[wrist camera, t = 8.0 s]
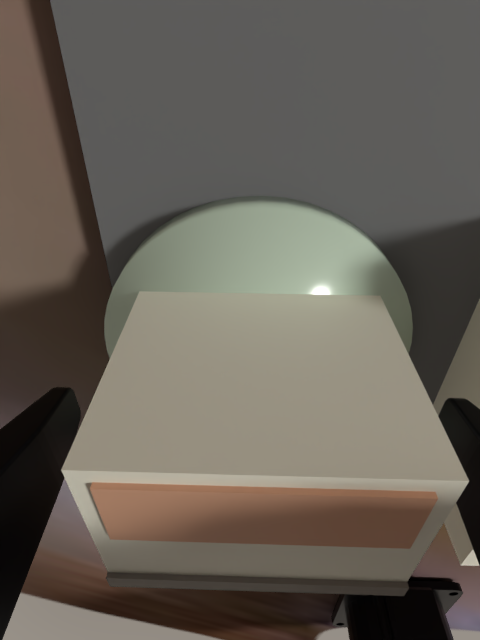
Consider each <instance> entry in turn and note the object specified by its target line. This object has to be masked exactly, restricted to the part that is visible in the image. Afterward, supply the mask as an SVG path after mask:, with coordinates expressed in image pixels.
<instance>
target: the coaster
mask: <svg viewBox="0 0 480 640" xmlns="http://www.w3.org/2000/svg"><path fill="white" fill-rule="evenodd" d="M139 291H149V292H205V293H261V294H318V295H374V296H381V298H382V300H383V302H384V304H385V306H386V308H387V310H388V313H389V315H390V317H391V319H392V321H393V323H394V325H395V327H396V329H397V331H398V333H399V336H400V338H401V340H402V342H403V344H404V346H405V348H406V350H407V352H408V354H409V351H410V347H411V343H412V332H413V323H412V312H411V307H410V304H409V300H408V296H407V293H406V291H405V289H404V287H403V285H402V283H401V281H400V279H399V277H398V275H397V273H396V272H395V270H394V268H393V267H392V265H391V263H390V261H389V260H388V259H387V257H386V256H385V254H384V253H383V252H382V250H381V249H380V247H379V246H378V245H377V244H376V243H375V242H374V241H373V240H372V239H371V238H370V237H369V236H368V235H367V234H366V233H365V232H364V231H362V230H361V229H360V228H358V227H357V226H355V225H354V224H353V223H351V222H350V221H349V220H347V219H345V218H343V217H341V216H339V215H338V214H336V213H334V212H332V211H330V210H328V209H325V208H322V207H319V206H317V205H314V204H311V203H308V202H304V201H299V200H295V199H290V198H286V197H274V196H242V197H234V198H228V199H223V200H217V201H213V202H210V203H207V204H204V205H201V206H198V207H194V208H192V209H190V210H188V211H186V212H184V213H182V214H180V215H178V216H175V217H174V218H172V219H171V220H169V221H168V222H166V223H165V224H163V225H162V226H160V227H159V228H157V229H156V230H155V231H154V232H153V233H152V234H150V235H149V236H148V237H147V238H146V239H145V240H144V241H143V242H142V243H141V244H140V245H139V247H138V248H137V249H136V250H135V251H134V253H133V254H132V255H131V257H130V258H129V260H128V262H127V263H126V265H125V267H124V269H123V270H122V272H121V274H120V276H119V278H118V280H117V281H116V283H115V285H114V287H113V289H112V292H111V295H110V298H109V300H108V303H107V308H106V314H105V320H104V336H105V342H106V348H107V352H108V355H109V358H110V357H111V355H112V353H113V351H114V348H115V346H116V344H117V342H118V339H119V337H120V335H121V332H122V330H123V328H124V326H125V323H126V321H127V319H128V316H129V314H130V312H131V310H132V307H133V305H134V303H135V300H136V298H137V296H138V294H139Z"/></svg>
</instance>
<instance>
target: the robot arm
mask: <svg viewBox="0 0 480 640" xmlns="http://www.w3.org/2000/svg"><path fill="white" fill-rule="evenodd" d="M80 416H81V413H80V408H79V405H78V402H77V399H76V396H75V393H74V391H73V390H72V389H71V388H66V387H56V388H53V389H51V390H50V391H49V392H47V393H46V394H45V395H43V396H42V397H41V398H40V399H38V400H37V401H36V402H35V403H33V404H32V405H31V406H29V407H28V408H27V409H26V410H24V411H23V412H22V413H20V414H19V415H18V416H17V417H15V418H14V419H13V420H12V421H10V422H9V423H8V424H6V425H5V426H4V427H3V428H1V429H0V640H2V639H3V636H4V634H5V631H6V628H7V626H8V623H9V621H10V618H11V616H12V613H13V610H14V608H15V605H16V602H17V600H18V597H19V595H20V592H21V590H22V587H23V584H24V582H25V579H26V577H27V574H28V571H29V569H30V566H31V564H32V561H33V559H34V556H35V553H36V551H37V548H38V546H39V543H40V540H41V538H42V535H43V533H44V530H45V527H46V525H47V522H48V520H49V517H50V515H51V512H52V509H53V507H54V504H55V502H56V499H57V496H58V494H59V491H60V489H61V486H62V483H63V480H64V475H63V473H62V471H61V469H62V467H63V465H64V462H65V460H66V458H67V456H68V453H69V451H70V449H71V446H72V444H73V442H74V440H75V437H76V433H77V429H78V425H79V422H80ZM438 417H439V419H440V421H441V423H442V425H443V427H444V429H445V432H446V434H447V436H448V438H449V440H450V442H451V444H452V446H453V448H454V450H455V452H456V454H457V457H458V459H459V461H460V463H461V465H462V467H463V469H464V471H465V473H466V475H467V477H468V480H469V482H468V484H467V486H466V487H465V489H464V491H463V492H462V494H461V495H460V497H459V499H458V500H457V502H456V504H457V507H458V509H459V512H460V515H461V517H462V520H463V523H464V525H465V528H466V531H467V534H468V536H469V539H470V542H471V544H472V547H473V550H474V552H475V555H476V558H477V560H478V563H479V566H480V409H479V408H478V407H477V406H475V405H474V404H473V403H471V402H470V401H469V400H467V399H465V398H448V399H447V400H446V401H445V402H444V404H443V407H442V409H441V411H440V413H439V415H438ZM407 583H408V586H409V589H408V591H407V592H406V594H405V595H404V596H384V595H354V594H341V595H340V597H339V600H338V602H337V605H336V607H335V609H334V612H333V614H332V623H333V626H336V627H348V632H349V639H350V640H453V636H452V634H451V630H450V627H449V624H448V621H447V618H446V615H445V614H446V613H447V611H448V610H449V609H450V608H451V607H452V606H453V605H454V603H455V602H456V601H457V600H458V599H459V598H460V597H461V595H462V594H463V592H462V589H461V586H460V584H459V583H455V582H431V581H408V582H407Z"/></svg>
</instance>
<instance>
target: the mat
mask: <svg viewBox="0 0 480 640" xmlns="http://www.w3.org/2000/svg"><path fill="white" fill-rule="evenodd" d="M50 2H51V7H52V11H53V16H54V21H55V25H56V30H57V35H58V39H59V44H60V49H61V53H62V58H63V63H64V67H65V72H66V77H67V81H68V86H69V90H70V95H71V100H72V104H73V109H74V114H75V118H76V123H77V128H78V132H79V137H80V142H81V146H82V151H83V156H84V160H85V165H86V170H87V174H88V179H89V183H90V188H91V193H92V197H93V202H94V207H95V211H96V216H97V221H98V225H99V230H100V235H101V239H102V244H103V249H104V253H105V258H106V262H107V267H108V272H109V276H110V281H111V286H112V289H113V287H114V285H115V283H116V281H117V280H118V278H119V276H120V274H121V272H122V270H123V269H124V267H125V265H126V263H127V262H128V260H129V258H130V257H131V255H132V254H133V253H134V251H135V250H136V249H137V248H138V247H139V245H140V244H141V243H142V242H143V241H144V240H145V239H146V238H147V237H148V236H149V235H150V234H152V233H153V232H154V231H155V230H156V229H157V228H159V227H160V226H162V225H163V224H165V223H166V222H168V221H169V220H171V219H172V218H174V217H175V216H178V215H180V214H182V213H184V212H186V211H188V210H190V209H192V208H194V207H198V206H201V205H204V204H207V203H210V202H213V201H217V200H223V199H228V198H234V197H242V196H274V197H286V198H290V199H295V200H299V201H304V202H308V203H311V204H314V205H317V206H319V207H322V208H325V209H328V210H330V211H332V212H334V213H336V214H338V215H339V216H341V217H343V218H345V219H347V220H349V221H350V222H351V223H353V224H354V225H355V226H357V227H358V228H360V229H361V230H362V231H364V232H365V233H366V234H367V235H368V236H369V237H370V238H371V239H372V240H373V241H374V242H375V243H376V244H377V245H378V246H379V247H380V249H381V250H382V252H383V253H384V254H385V256H386V257H387V259H388V260H389V261H390V263H391V265H392V267H393V268H394V270H395V272H396V273H397V275H398V277H399V279H400V281H401V283H402V285H403V287H404V289H405V291H406V293H407V296H408V300H409V304H410V307H411V312H412V323H413V332H412V343H411V347H410V351H409V356H410V358H411V361H412V363H413V365H414V367H415V369H416V371H417V373H418V375H419V377H420V379H421V381H422V384H423V386H424V388H425V390H426V392H427V394H428V396H429V398H430V400H431V402H432V404H434V401H435V399H436V397H437V394H438V392H439V390H440V388H441V385H442V383H443V381H444V379H445V376H446V374H447V372H448V369H449V367H450V365H451V363H452V360H453V358H454V356H455V354H456V351H457V349H458V347H459V345H460V342H461V340H462V338H463V335H464V333H465V331H466V329H467V326H468V324H469V322H470V320H471V317H472V315H473V313H474V310H475V308H476V306H477V304H478V301H479V299H480V0H50Z"/></svg>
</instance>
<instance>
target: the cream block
mask: <svg viewBox="0 0 480 640" xmlns="http://www.w3.org/2000/svg"><path fill="white" fill-rule="evenodd" d="M61 471H62V473H63V475H64V478H65V480H66V482H67V484H68V486H69V488H70V491H71V493H72V495H73V497H74V499H75V502H76V504H77V506H78V508H79V510H80V513H81V515H82V517H83V519H84V521H85V523H86V526H87V528H88V530H89V532H90V534H91V537H92V539H93V541H94V543H95V545H96V548H97V550H98V552H99V554H100V556H101V558H102V561H103V563H104V565H105V567H106V569H107V572H108V573H107V577H106V579H107V581H108V583H109V585H110V586H112V587H143V588H173V589H203V590H233V591H263V592H293V593H324V594H354V595H384V596H404V595H405V594H406V592H407V591H408V589H409V586H408V583H407V582H408V580H409V578H410V577H411V575H412V573H413V572H414V570H415V569H416V567H417V565H418V564H419V562H420V560H421V559H422V557H423V556H424V554H425V552H426V551H427V549H428V547H429V546H430V544H431V543H432V541H433V539H434V538H435V536H436V534H437V533H438V531H439V530H440V528H441V526H442V525H443V523H444V521H445V520H446V518H447V517H448V515H449V513H450V512H451V510H452V508H453V507H454V505H455V504H456V502H457V500H458V499H459V497H460V495H461V494H462V492H463V491H464V489H465V487H466V486H467V484H468V482H469V480H468V477H467V475H466V473H465V471H464V469H463V467H462V465H461V463H460V461H459V459H458V457H457V454H456V452H455V450H454V448H453V446H452V444H451V442H450V440H449V438H448V436H447V434H446V432H445V429H444V427H443V425H442V423H441V421H440V419H439V417H438V415H437V413H436V411H435V409H434V406H433V404H432V402H431V400H430V398H429V396H428V394H427V392H426V390H425V388H424V386H423V384H422V381H421V379H420V377H419V375H418V373H417V371H416V369H415V367H414V365H413V363H412V361H411V358H410V356H409V354H408V352H407V350H406V348H405V346H404V344H403V342H402V340H401V338H400V336H399V333H398V331H397V329H396V327H395V325H394V323H393V321H392V319H391V317H390V315H389V313H388V310H387V308H386V306H385V304H384V302H383V300H382V298H381V296H374V295H318V294H261V293H205V292H149V291H139V294H138V296H137V298H136V300H135V303H134V305H133V307H132V310H131V312H130V314H129V316H128V319H127V321H126V323H125V326H124V328H123V330H122V332H121V335H120V337H119V339H118V342H117V344H116V346H115V348H114V351H113V353H112V355H111V357H110V360H109V362H108V364H107V367H106V369H105V371H104V373H103V376H102V378H101V380H100V383H99V385H98V387H97V389H96V392H95V394H94V396H93V399H92V401H91V403H90V405H89V408H88V410H87V412H86V415H85V417H84V419H83V421H82V424H81V426H80V428H79V430H78V433H77V435H76V437H75V440H74V442H73V444H72V446H71V449H70V451H69V453H68V456H67V458H66V460H65V462H64V465H63V467H62V469H61Z"/></svg>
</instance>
